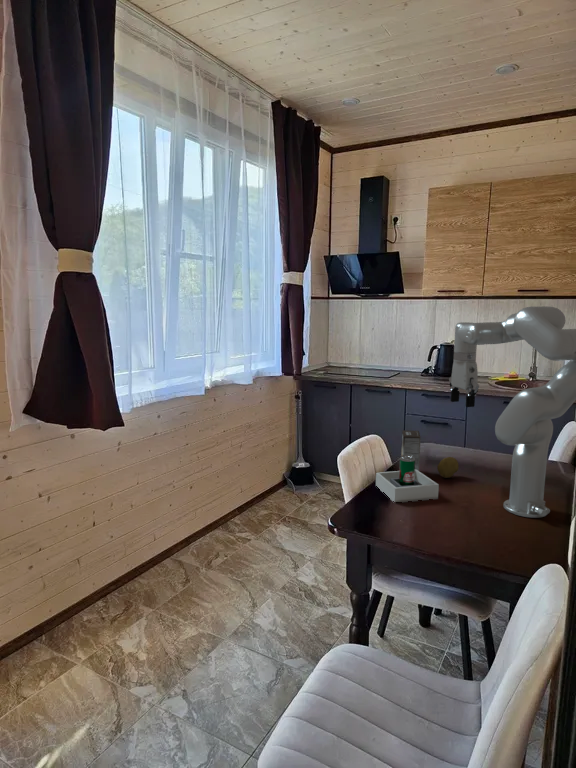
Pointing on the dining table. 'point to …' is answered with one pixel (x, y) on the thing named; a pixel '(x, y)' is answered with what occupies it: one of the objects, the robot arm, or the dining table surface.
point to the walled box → (407, 487)
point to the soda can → (407, 470)
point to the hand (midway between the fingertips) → (462, 404)
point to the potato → (448, 467)
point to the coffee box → (411, 445)
